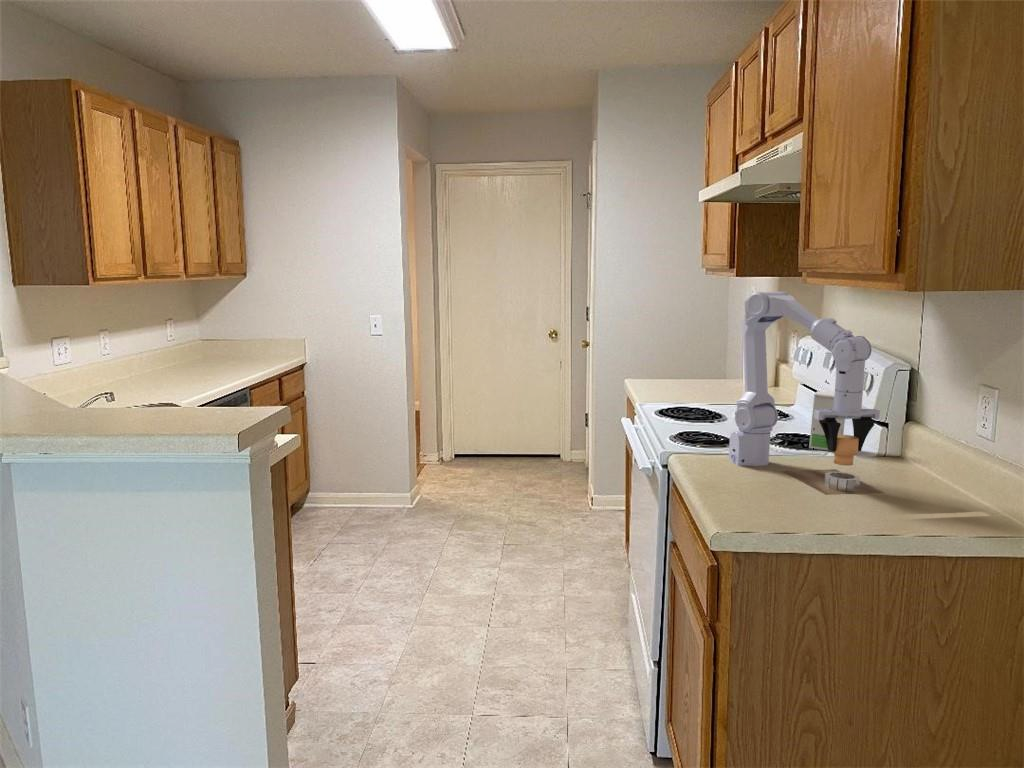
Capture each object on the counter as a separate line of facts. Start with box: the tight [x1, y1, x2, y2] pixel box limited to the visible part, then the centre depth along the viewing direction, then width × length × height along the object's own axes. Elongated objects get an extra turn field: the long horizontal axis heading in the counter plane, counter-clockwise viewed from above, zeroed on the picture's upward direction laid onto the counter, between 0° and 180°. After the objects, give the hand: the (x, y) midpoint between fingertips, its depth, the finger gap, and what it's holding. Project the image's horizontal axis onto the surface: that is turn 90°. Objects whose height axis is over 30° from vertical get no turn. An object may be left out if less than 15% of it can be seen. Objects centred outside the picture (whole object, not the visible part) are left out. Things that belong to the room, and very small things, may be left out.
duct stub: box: [824, 471, 861, 491], centre depth 174 cm, size 7×7×2 cm
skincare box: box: [808, 390, 846, 452], centre depth 215 cm, size 8×7×16 cm
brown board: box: [782, 468, 886, 495], centre depth 179 cm, size 14×20×1 cm
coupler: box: [830, 434, 859, 467], centre depth 173 cm, size 6×6×6 cm
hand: (844, 450), depth 173 cm, fingers closed on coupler, 6 cm apart
